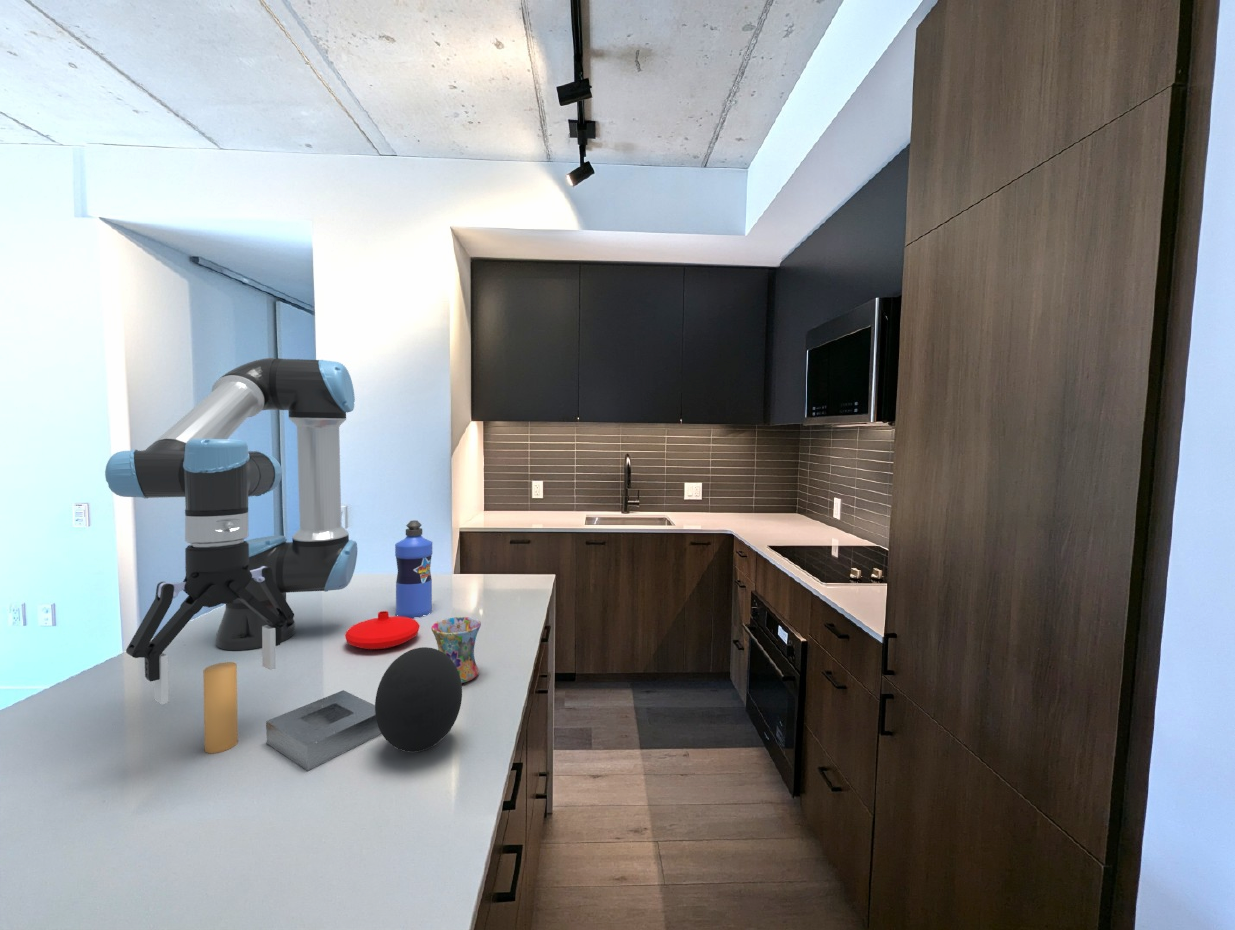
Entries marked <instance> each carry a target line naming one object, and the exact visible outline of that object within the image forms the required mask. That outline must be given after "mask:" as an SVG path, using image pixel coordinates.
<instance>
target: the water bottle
mask: <svg viewBox="0 0 1235 930" xmlns="http://www.w3.org/2000/svg"><path fill="white" fill-rule="evenodd" d="M405 526H406V527H407V528H406V529H405V538H404V539H402V540H400V541H397V542H396V543H395V545H394V546H395V547H394V551H395V553H394V557H395V560H396V567H397V569H396V570H397V574H396V579H395V580H396V581H395V615H398V616H400V617H408V618H412V619H415V618H414V617H419V618H421V617H420V616H423V615H426V616H429V615H430V614H432V612H433V611H432V610H433V607H432V606H433V603H432V602H433V601H432V600H433V583H432V582H433V581H432V580H433V579H432V574H431V564H432V556H433V541H432V540H429V539H427V538H425V537H423V536H422V535H423V528H421V526H422V523H420V521H418V520H415V519H414V520H410V521H409V522H408V523H407V524H406V525H405ZM431 611H432V612H431ZM429 613H430V614H429ZM428 614H429V615H428ZM423 617H424V616H423Z"/></svg>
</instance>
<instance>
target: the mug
mask: <svg viewBox="0 0 1235 930" xmlns="http://www.w3.org/2000/svg"><path fill="white" fill-rule="evenodd" d="M481 625H482V622H481V621H480V619H478V618H474V617H468V616H467V617H466V616H456V617H448V618H443V619H441V620H439V621H436V622H435V623H433V624H432V626H431V629H430V630H431V631H432V634H433V635H434V637H435V641H436V645H437V650H439V651H441V652H443V653H444V654H446V655H447V656H448V657H449V658H450V659H451V660H452V661H453V663H454V664H455V666H456V668H457V670H458V672H459V675H460V678H461V683H462V684H464V683H467V682H469V681H471V680H473V679H475V678H476V677H477V676H478V674H479V667H478V665H477V663H476V658H475V646H476V645H475V644H476V640H477V639H476V638H477V636H478V633H479V630H480V628H481Z"/></svg>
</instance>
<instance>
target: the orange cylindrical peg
mask: <svg viewBox="0 0 1235 930" xmlns="http://www.w3.org/2000/svg"><path fill="white" fill-rule="evenodd" d="M237 665H238V664H237V663H236V662H233V661H227V662H226V661H225V662H219V663H214V664H212V665H209V666H207V667H205V668H204V669H203V718H204V719H203V720H204V721H203V723H204V724H203V726H204V728H203V729H204V731H203V732H204V736H203V737H204V752H205V753H206V754H218V753H222V752H226V751H228V750H230V749H232V748H234V747H235V746H236V745H237V744H238V742H239V737H238V736H239V735H238V734H239V732H238V731H239V730H238V727H239V724H238V720H239V719H238V671H237Z"/></svg>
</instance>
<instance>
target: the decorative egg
mask: <svg viewBox="0 0 1235 930" xmlns="http://www.w3.org/2000/svg"><path fill="white" fill-rule="evenodd" d="M375 694H376V695H375V700H374V705H375V714H376V721H377V724H378V727H379V730H380V732H381V734H380V735H382V737H383V738H384V739H385V741H386V742H387V743H389V745H390V746H392V747H394V748H395V749H397V750H399V751H402V752H407V753H417V752H422V751H425V750H428V749H430V748H432V747H434V746H436V745H437V744H439V743H440V742H441V741H442V740H443V739H444V738H445V737H446V736H447V735H448V734H449V733H450V731H451V729H452V728H453V727H454V725H455V723H456V721H457V719H458V716H459V713H460V710H461V706H462V699H463V683H461V678H460V675H459V672H458V670H457V668H456V666H455V664H454V663H453V661H452V660H451V659H450V658H449V657H448V656H447V655H446V654H444V653H443V652H441V651H439V650H438V648H437V649H436V648H434V647H416V648H412V649H410V650H408V651H406V652H404V653H401V654H400V655H399V656H398V657H397V658H395V659H394V660H393V661H392V663H390V665H389V666H388V667H387V669H386V670H385V672H384V673H383V675H382V677H381V679H380V681H379V683H378V687H377V690H376V693H375Z"/></svg>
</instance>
